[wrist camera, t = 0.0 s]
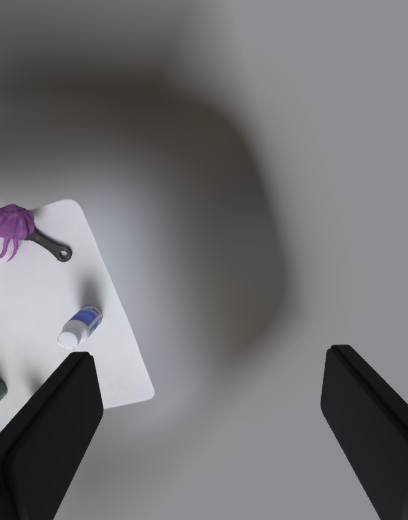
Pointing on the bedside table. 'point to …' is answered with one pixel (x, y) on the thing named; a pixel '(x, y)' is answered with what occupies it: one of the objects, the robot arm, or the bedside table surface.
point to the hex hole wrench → (50, 245)
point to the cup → (2, 390)
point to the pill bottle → (79, 327)
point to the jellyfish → (15, 225)
